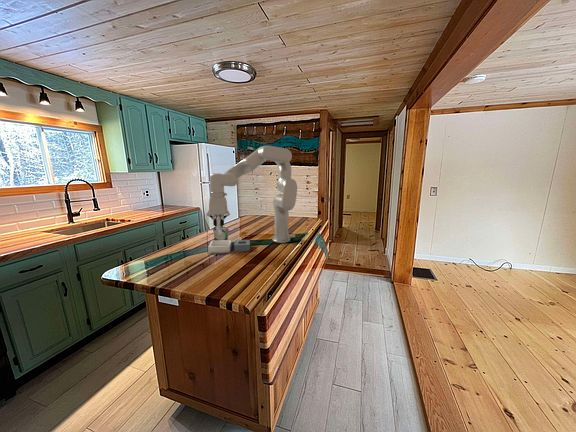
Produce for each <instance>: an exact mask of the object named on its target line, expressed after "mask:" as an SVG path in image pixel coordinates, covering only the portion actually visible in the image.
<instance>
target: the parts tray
mask: <svg viewBox="0 0 576 432" xmlns="http://www.w3.org/2000/svg"><path fill="white" fill-rule="evenodd" d="M231 250H232V240H231V239H228V240H218V241H215V240H211V241H210V243H209V245H208V247H207V251H208V253H207V254H209V255H211V254H230V253H231Z"/></svg>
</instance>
